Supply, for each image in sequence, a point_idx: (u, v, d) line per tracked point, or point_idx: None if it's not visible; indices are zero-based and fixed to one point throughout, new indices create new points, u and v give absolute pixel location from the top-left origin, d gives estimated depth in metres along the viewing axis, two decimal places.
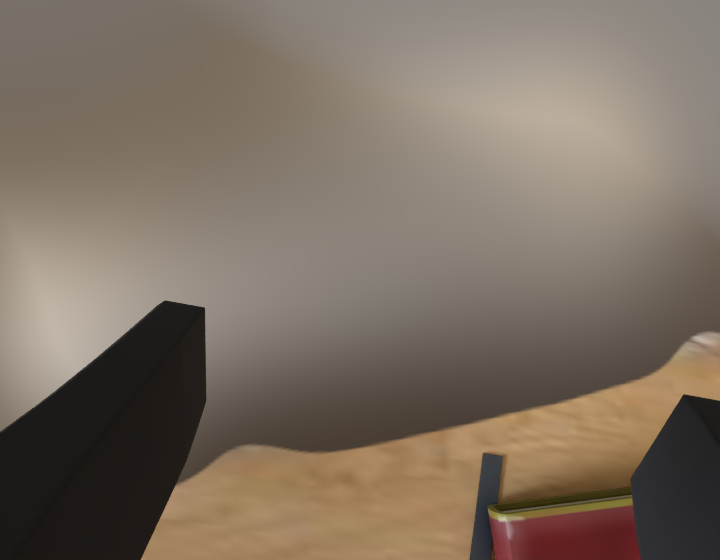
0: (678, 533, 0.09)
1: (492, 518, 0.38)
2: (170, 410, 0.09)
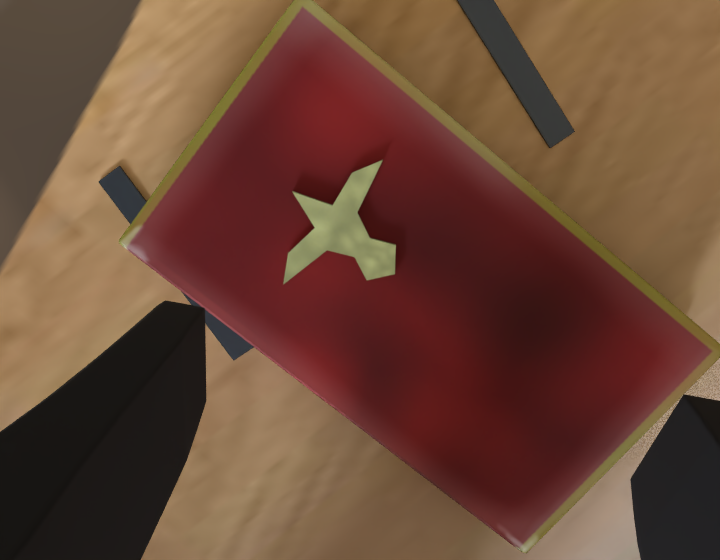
0: (677, 533, 0.09)
1: None
2: (170, 410, 0.09)
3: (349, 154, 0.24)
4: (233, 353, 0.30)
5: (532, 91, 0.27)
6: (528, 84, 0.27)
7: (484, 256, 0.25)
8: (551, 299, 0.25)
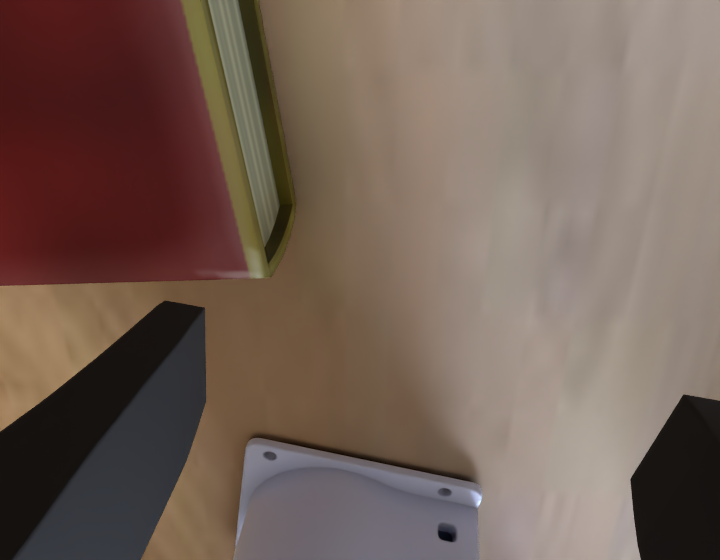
0: (677, 532, 0.09)
1: None
2: (170, 410, 0.09)
3: None
4: None
5: None
6: None
7: None
8: None
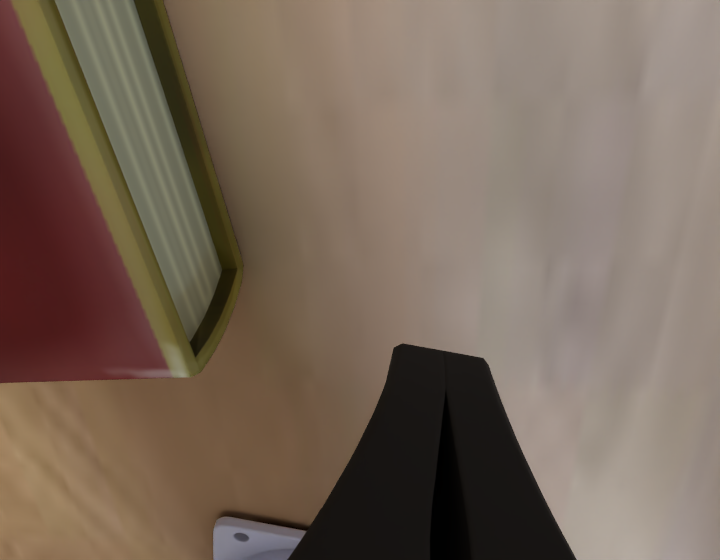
0: None
1: None
2: None
3: None
4: None
5: None
6: None
7: None
8: None
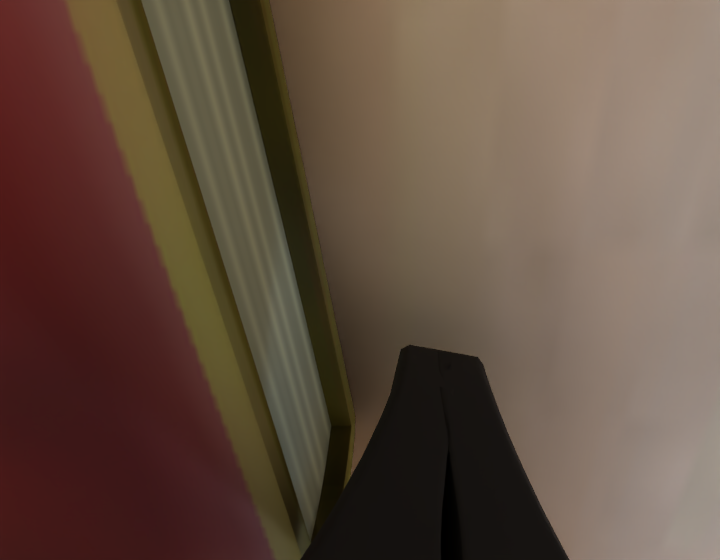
0: None
1: None
2: None
3: None
4: None
5: None
6: None
7: None
8: None
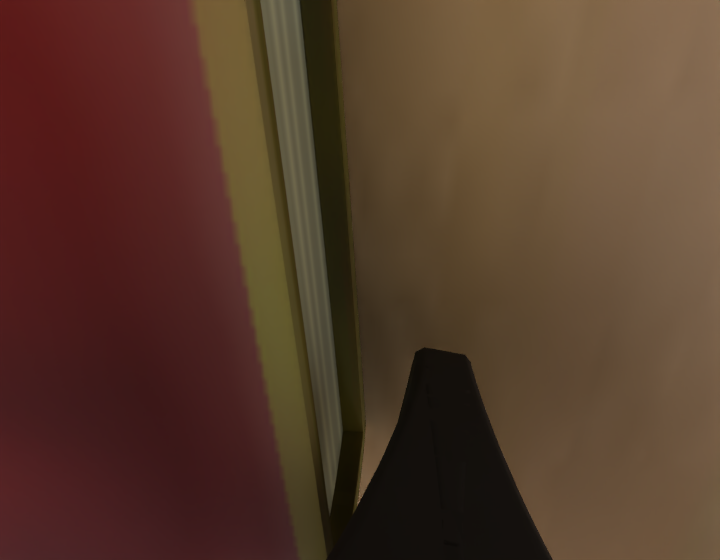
0: None
1: None
2: None
3: None
4: None
5: None
6: None
7: None
8: None
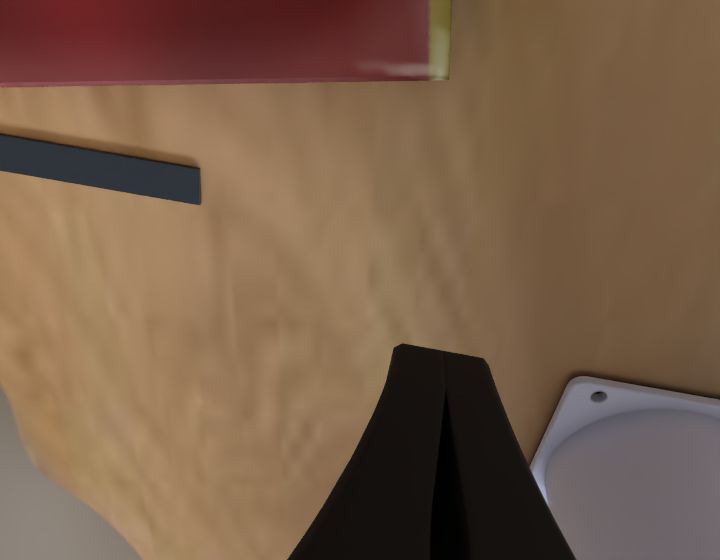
0: None
1: None
2: None
3: None
4: (191, 197, 0.19)
5: None
6: None
7: None
8: None
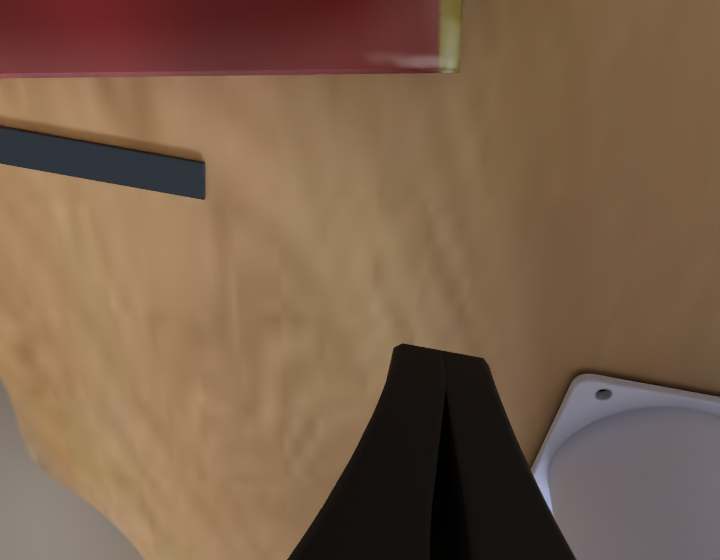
0: None
1: None
2: None
3: None
4: (195, 192, 0.19)
5: None
6: None
7: None
8: None
